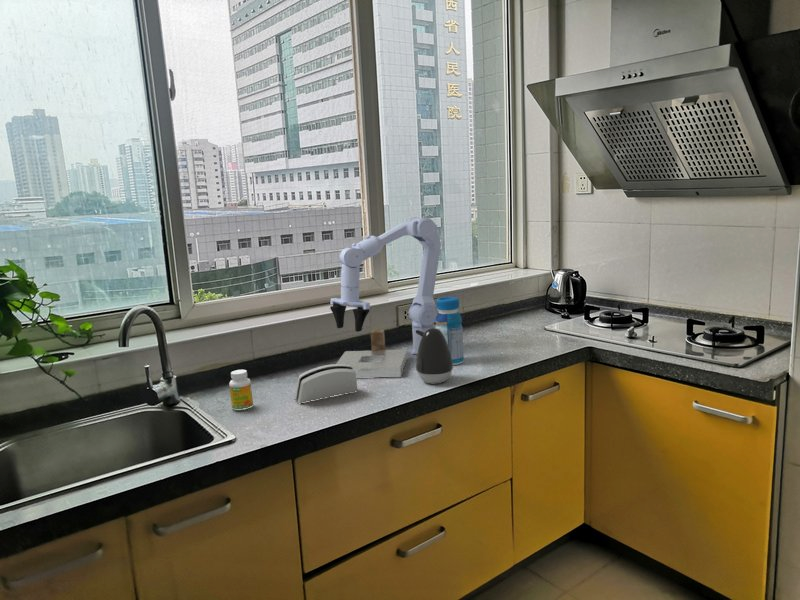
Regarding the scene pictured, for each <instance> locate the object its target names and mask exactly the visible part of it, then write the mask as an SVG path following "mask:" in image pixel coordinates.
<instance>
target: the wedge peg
mask: <svg viewBox="0 0 800 600" xmlns="http://www.w3.org/2000/svg"><path fill="white" fill-rule="evenodd" d="M385 337H386V336H385V329H372V330H371V331H370V343H371V344H370V345H371V351H372V350H387V349H386V339H385Z"/></svg>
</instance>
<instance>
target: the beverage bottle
mask: <svg viewBox="0 0 800 600" xmlns="http://www.w3.org/2000/svg"><path fill="white" fill-rule="evenodd" d="M436 309H437V311H438V313H436V315H437V316H436V319H435V322H434V324H435V325H436V329H438V330H440V331H441V332H442V334H443V335H444V337H445V339H446V341H447V344H448V346H449V349H450V353H451V357H452V362H453V366H458V365H461V364H462V363H464V361H465V359H464V357H465V356H464V333H463V332H464V327H463V325H462V323H463V318H462V316H461V314H460V312H459V311H458V310H459V309H460V300H459V297H455V296H445V297H439V298H437V299H436Z"/></svg>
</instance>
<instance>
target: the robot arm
mask: <svg viewBox="0 0 800 600" xmlns="http://www.w3.org/2000/svg"><path fill="white" fill-rule="evenodd" d="M404 236H411V237H412V238H414V239H416V240H417V241H418V242H419V243H420V244H421V246H422V247H423V253H422V259H421V266H420V271H419V272H420V273H419V279H418V284H417V285H418V286H417V293H416V295H415V297H414V298H413V299H412V303H411V306H410V307H409V309H408V316H409V319H410V320H411V321H412V323H411V328H412V329H411V331H412V344H413V345H412V349H411V355H417V352H418V348H419V344H420V341H421V338H422V337H421V336H420V335H418V334H417V333H416V330H419V331H422V332H424V333H425V331H426V330H428V329H430V328H436V324H435V319H436V316H437V311H436V307H437V303H436V302H435V299H434V291H435V286H436V279H437V273H438V268H439V267H438V266H439V260H440V254H441V249H442V248H441V247H442V242H441V239H440V235H439V233H438V225H437V224H436V223H435V222H434V221H433V219H431V218H430V217H416V216H415V217H412V218H409V219H407V220H404V221H402V222H400V223H399V224H397V225H395V226H394V227H392V228H390V229H388V230H387V231H386V232H384V233H382V234H380V235H379V236H375V235H365V236H364V239H363V240H361V241H359V242H357V243H352V244H351V247H345V248H344V249H342V250H341V252H340V254H339V256H338V260H339V262H340V264H341V272H340V297H331V298H330V302H329V303H330V304H329V305H331V306H330V308H329V309H330V311H331V312H332V315H333V317H334V320H335V323H336V324H335V325H336V328H337V329H342V328H344V325H345V324H344V323H345V322H344V321H345V313H346V309H347V307H349V308H354V309H352V312H353V314H354V315H353V316H354V325H355V326H354V328H355V329H354V330H355V332H358V333H359V332H362V329H363V327H364V323H365V320H366V317H367V316H368V314H369V312H370V310H371V309H370V308H371V302H367V301H363V300H360V276H361V275H360V274H361V273H360V266H361V265H362V263H363V262H364V261H366V260H368V259H369V258H371V257H373V256H376V255H377V254H379V253H381V252H382V249H383V247H384V246H385V245H388V244H390V243H391V242H393V241H396V240H398V239H400V238H402V237H404Z"/></svg>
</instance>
